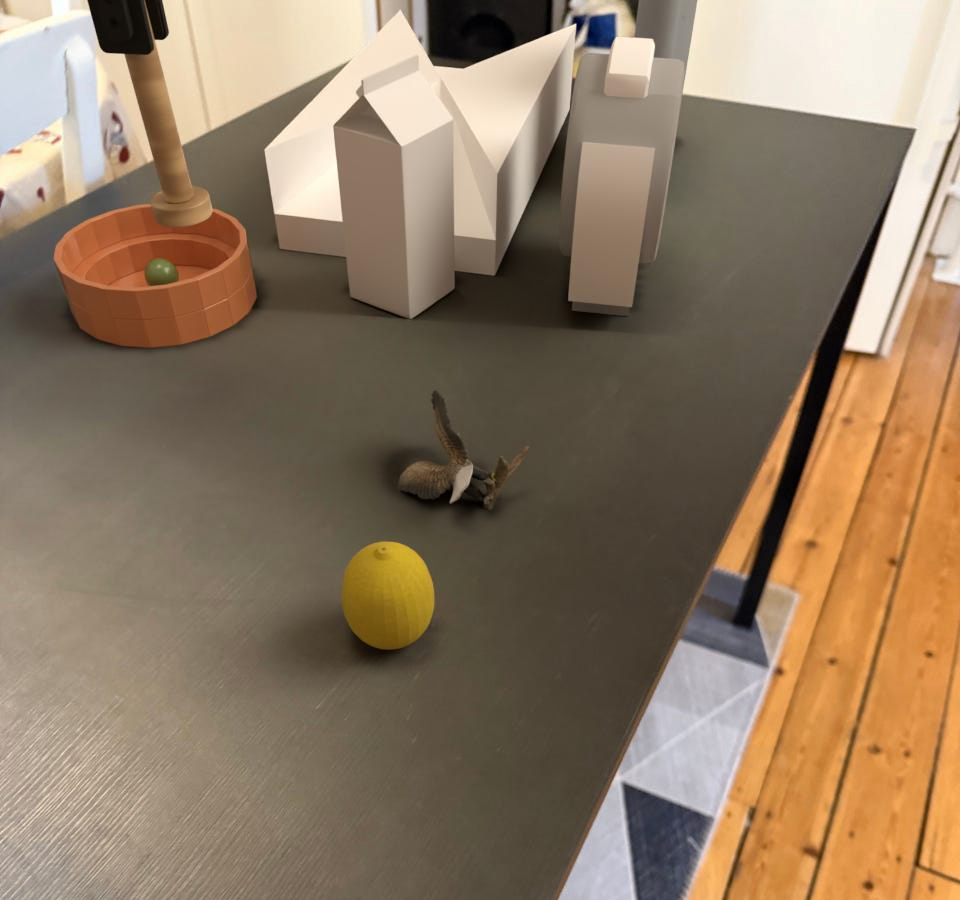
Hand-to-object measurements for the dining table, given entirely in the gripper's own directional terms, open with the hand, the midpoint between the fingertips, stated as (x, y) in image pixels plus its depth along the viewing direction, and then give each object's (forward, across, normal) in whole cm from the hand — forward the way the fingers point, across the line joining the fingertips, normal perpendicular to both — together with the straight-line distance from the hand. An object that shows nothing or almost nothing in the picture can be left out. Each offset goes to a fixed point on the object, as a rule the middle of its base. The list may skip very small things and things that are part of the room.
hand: (135, 42), depth 56 cm
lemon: (+26, +25, +18) cm, 40 cm away
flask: (+26, -49, +36) cm, 66 cm away
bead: (+23, -15, -9) cm, 29 cm away
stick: (+11, 0, 0) cm, 11 cm away
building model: (+25, -46, +13) cm, 54 cm away
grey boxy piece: (+26, -22, +31) cm, 46 cm away
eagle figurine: (+26, +10, +20) cm, 34 cm away
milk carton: (+25, -18, +12) cm, 34 cm away
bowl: (+25, -13, -9) cm, 30 cm away
